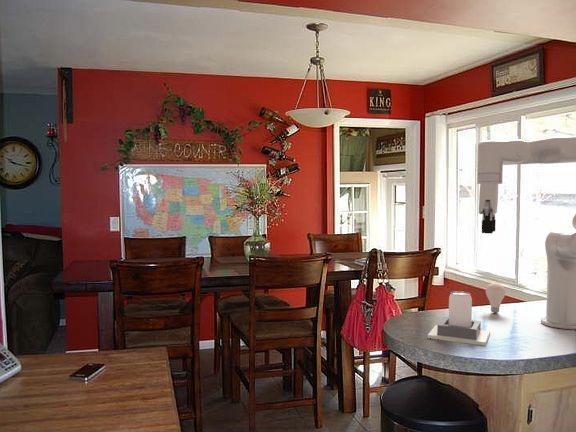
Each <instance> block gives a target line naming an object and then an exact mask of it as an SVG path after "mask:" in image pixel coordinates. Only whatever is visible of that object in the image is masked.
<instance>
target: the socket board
mask: <svg viewBox="0 0 576 432" xmlns="http://www.w3.org/2000/svg"><path fill="white" fill-rule="evenodd" d="M481 323H482V321H481V320H475V319H474V320H473V319H472V321H471V328H470V327H461V326H453V325H449V316H448V317H445V316H444V317H443V318H442V319H441V320H440V321H439V322H438V324H435V325H434V326H433V327H432V329H431V330H430V331H429V332H428V334H427V339H430V338H431V339H432V340H438V339H439V340H438V341H447V342H453V343H461V344H470V345H475V346H485V347H486V345H487V343H488V341H489V338H490V335H491V331H490V330H483V329H481V327H482V325H481ZM431 339H430V340H431Z"/></svg>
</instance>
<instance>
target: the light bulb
mask: <svg viewBox="0 0 576 432" xmlns="http://www.w3.org/2000/svg"><path fill="white" fill-rule="evenodd" d="M485 294H486V297H487V299H488V301H489V305H490V311H491V313H493V314H498V313H500V307H501V303H502V302H503V300H504V298H505V296H506V289H505V287H504V286H503V285H502V284H501V283H499V282H492V283H489V284H488V285H487V286H486V287H485Z"/></svg>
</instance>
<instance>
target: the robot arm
mask: <svg viewBox="0 0 576 432" xmlns="http://www.w3.org/2000/svg"><path fill="white" fill-rule="evenodd" d="M566 163H567V164H568V163H576V135H572V136H571V135H570V136H553V137H546V138H542V139H536V140H531V141H530V140H529V141H526V140H523V139H520V138H519V139H511V140H496V139H494V140H493V139H491V140H490V139H489V140H482V141H480V142H479V143H478V145H477V169H476V170H477V172H476V173H477V179H476V184H478V185H479V194H478V195H479V197H478V214H479V215H482V218H481V219H482V220H481V233H482V234H493V233H494V232H496V222H497V221H496V219H497V218H496V214H497V212H498V202H499V185H501V184H503V171H504V170H503V167H504V166H509V165H510V166H512V165H513V166H515V165H528V164H529V165H530V164H531V165H532V164H540V165H541V164H547V165H548V164H549V165H550V164H551V165H552V164H566ZM571 222H572V227H573V228H567V227H561V228H559V227H558V228H555V229H552V230H551V231H550V232H549V233H548V234H547V235H546V238H545V242H544V246H545V247H544V248H545V254H546V259H547V260H546V261H547V272H546V273H547V275H546V277H547V278H546V309H545V310H546V311H545V313H546V315H545V316H544V317H542V318H540V323H541V324H543V325H545V326H547V327H552V328H556V329H563V330H576V213H575V214H574V216H573V217H572V221H571Z"/></svg>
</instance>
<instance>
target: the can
mask: <svg viewBox="0 0 576 432" xmlns="http://www.w3.org/2000/svg"><path fill="white" fill-rule="evenodd" d="M472 299H473V298H472V296H471V293H470V292H468V291H461V290H460V291H459V290H457V291H456V290H455V291H450V295H449V296H448V318H449V325H453V326H461V327H470V328H471V321H472V320H473V319H472V313H473V309H472V308H473V307H472V306H473V300H472Z"/></svg>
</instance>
